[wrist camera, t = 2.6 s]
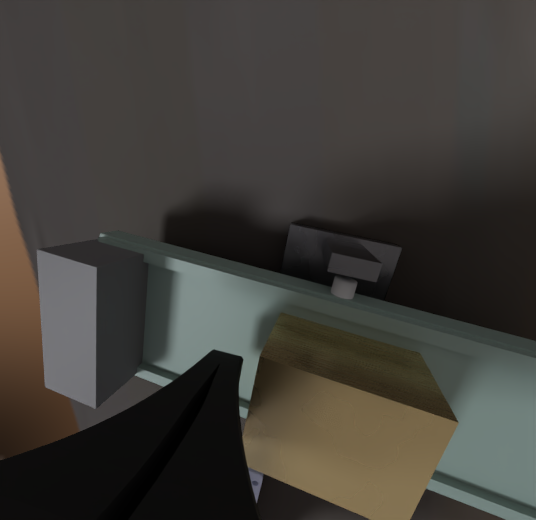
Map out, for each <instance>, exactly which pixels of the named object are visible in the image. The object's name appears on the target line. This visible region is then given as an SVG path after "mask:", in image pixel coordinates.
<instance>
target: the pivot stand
mask: <svg viewBox="0 0 536 520" xmlns="http://www.w3.org/2000/svg"><path fill="white" fill-rule="evenodd" d="M401 250H402V247H400V246H398V245H396V244H392V243H387V242H382V241H378V240H373V239H368V238H363V237H358V236H354V235H349V234H344V233H339V232H335V231H330V230H325V229H320V228H315V227H311V226H306V225H301V224H296V223H292V222H291V224H290V229H289V234H288V238H287V243H286V248H285V252H284V257H283V262H282V266H281V271H280V274H284V275H288V276H292V277H295V278H299V279H303V280H307V281H311V282H314V283H318V284H322V285H326V286H330V287H332V285H333V281H334V277H335V276H337V275H340V276H346V277H349V278H352V279H354V280H356V281H357V282H358V283H357V287H356V290H355V293H356V294H360V295H364V296H367V297H371V298H375V299H379V300H382V301H384V299H385V296H386V294H387V291H388V288H389V285H390V282H391V279H392V276H393V273H394V270H395V267H396V264H397V262H398V259H399V256H400V253H401Z"/></svg>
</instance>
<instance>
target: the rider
mask: <svg viewBox="0 0 536 520" xmlns="http://www.w3.org/2000/svg"><path fill="white" fill-rule="evenodd" d="M458 424H459V422H458V420H457V418H456V417H455V415H454V413H453V411H452V409H451V408H450V406H449V404H448V402H447V400H446V399H445V397H444V395H443V393H442V391H441V390H440V388H439V386H438V384H437V382H436V381H435V379H434V377H433V375H432V373H431V372H430V370H429V368H428V366H427V364H426V363H425V361H424V359H423V357H422V355H421V354H420V353H418V352H414V351H411V350H408V349H404V348H401V347H397V346H394V345H391V344H387V343H384V342H380V341H377V340H374V339H370V338H367V337H363V336H360V335H357V334H353V333H350V332H347V331H343V330H340V329H336V328H333V327H330V326H326V325H323V324H319V323H316V322H313V321H309V320H306V319H302V318H299V317H296V316H292V315H289V314H285V313H282V312H281V313H280V315H279V317H278V319H277V321H276V323H275V325H274V328H273V330H272V332H271V334H270V336H269V338H268V340H267V342H266V344H265V346H264V348H263V350H262V352H261V354H260V357H259V362H258V366H257V371H256V376H255V380H254V385H253V390H252V395H251V399H250V404H249V409H248V414H247V418H246V423H245V428H244V432H243V437H242V438H243V445H244V451H245V456H246V461H247V466H248V467H249V468H251V469H254V470H256V471H258V472H261V473H263V474H265V475H268V476H270V477H272V478H275V479H277V480H279V481H282V482H284V483H287V484H289V485H291V486H294V487H296V488H298V489H301V490H303V491H305V492H308V493H310V494H312V495H315V496H317V497H319V498H322V499H324V500H326V501H329V502H331V503H333V504H336V505H338V506H340V507H343V508H345V509H347V510H350V511H352V512H354V513H357V514H359V515H361V516H364V517H366V518H368V519H371V520H410V519H411V517H412V515H413V513H414V511H415V509H416V507H417V505H418V503H419V501H420V499H421V497H422V495H423V493H424V491H425V489H426V487H427V485H428V483H429V481H430V479H431V477H432V475H433V473H434V471H435V469H436V467H437V465H438V463H439V461H440V459H441V457H442V455H443V453H444V451H445V449H446V447H447V445H448V443H449V441H450V439H451V437H452V435H453V434H454V432H455V430H456V428H457V426H458Z"/></svg>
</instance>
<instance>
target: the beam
mask: <svg viewBox="0 0 536 520" xmlns="http://www.w3.org/2000/svg"><path fill="white" fill-rule="evenodd" d="M37 262H38V278H39V295H40V310H41V327H42V344H43V360H44V376H45V387H46V388H49V389H51V390H53V391H56V392H58V393H60V394H63V395H65V396H67V397H69V398H72V399H74V400H76V401H79V402H81V403H83V404H86V405H88V406H90V407H93V408H95V409H96V408H97V407H99V406H100V405H101V404H102V403H103V402H104V401H105V400H107V399H108V398H109V397H110V396H111V395H112V394H113V393H115V392H116V391H117V390H118V389H119V388H120V387H121V386H123V385H124V384H125V383H126V382H127V381H128V380H129V379H131V378H132V377H133V376H134V375H135V376H138V377H140V378H143V379H146V380H148V381H151V382H153V383H156V384H158V385H161V386H166V385H167V384H169V383H170V382H172V381H173V380H175V379H176V378H178V377H179V376H180V375H182V374H183V373H184V372H186V371H187V370H188V369H189V368H191V367H192V366H193V365H195V364H196V363H197V362H198V361H199V360H201V359H202V358H203V357H204V356H205V355H207V354H208V353H209V352H210V351H212V350H213V349H215V350H219V351H223V352H226V353H230V354H234V355H238V356H242V358H243V359H244V360H243V365H242V370H241V376H240V381H239V410H240V416H241V417H243V418H247V414H248V409H249V404H250V399H251V395H252V390H253V385H254V380H255V376H256V371H257V366H258V362H259V357H260V354H261V352H262V350H263V348H264V346H265V344H266V342H267V340H268V338H269V336H270V334H271V332H272V330H273V328H274V325H275V323H276V321H277V319H278V317H279V315H280V313H281V312H282V313H285V314H289V315H292V316H296V317H299V318H302V319H306V320H309V321H313V322H316V323H319V324H323V325H326V326H330V327H333V328H336V329H340V330H343V331H347V332H350V333H353V334H357V335H360V336H363V337H367V338H370V339H374V340H377V341H380V342H384V343H387V344H391V345H394V346H397V347H401V348H404V349H408V350H411V351H414V352H418V353H420V354H421V355H422V357H423V359H424V361H425V363H426V364H427V366H428V368H429V370H430V372H431V373H432V375H433V377H434V379H435V381H436V382H437V384H438V386H439V388H440V390H441V391H442V393H443V395H444V397H445V399H446V400H447V402H448V404H449V406H450V408H451V409H452V411H453V413H454V415H455V417H456V418H457V420H458V422H459V424H458V426H457V428H456V430H455V432H454V434H453V435H452V437H451V439H450V441H449V443H448V445H447V447H446V449H445V451H444V453H443V455H442V457H441V459H440V461H439V463H438V465H437V467H436V469H435V471H434V473H433V475H432V477H431V479H430V481H429V483H428V485H427V487H426V489H429V490H431V491H434V492H436V493H439V494H442V495H444V496H447V497H449V498H452V499H455V500H457V501H460V502H462V503H465V504H467V505H470V506H473V507H475V508H478V509H480V510H483V511H485V512H488V513H491V514H493V515H496V516H498V517H501V518H503V519H506V520H536V341H534V340H530V339H526V338H522V337H519V336H515V335H511V334H507V333H504V332H500V331H496V330H492V329H488V328H485V327H481V326H477V325H473V324H469V323H466V322H462V321H458V320H454V319H451V318H447V317H443V316H439V315H435V314H432V313H428V312H424V311H420V310H417V309H413V308H409V307H405V306H401V305H398V304H394V303H390V302H386V301H382V300H379V299H375V298H371V297H367V296H364V295H360V294H356V293H355V290H356V287H357V283H358V282H357V281H356V280H354V279H352V278H349V277H346V276H340V275H337V276H335V277H334V281H333V285H332V287H330V286H326V285H322V284H318V283H314V282H311V281H307V280H303V279H299V278H295V277H292V276H288V275H284V274H280V273H277V272H273V271H269V270H265V269H261V268H258V267H254V266H250V265H246V264H242V263H239V262H235V261H231V260H227V259H224V258H220V257H216V256H212V255H208V254H205V253H201V252H197V251H193V250H190V249H186V248H182V247H178V246H174V245H171V244H167V243H163V242H159V241H155V240H152V239H148V238H144V237H140V236H137V235H133V234H129V233H125V232H121V231H113V232H106V233H100V237H98V239H96V240H90V241H84V242H78V243H72V244H66V245H60V246H54V247H48V248H42V249H37Z"/></svg>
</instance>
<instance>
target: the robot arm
mask: <svg viewBox="0 0 536 520" xmlns="http://www.w3.org/2000/svg"><path fill="white" fill-rule="evenodd" d="M243 360H244V359H243V358H242V356H238V355H234V354H230V353H226V352H223V351H219V350H215V349H213V350H212V351H210V352H209V353H208V354H207V355H205V356H204V357H203V358H202V359H201V360H199V361H198V362H197V363H196V364H195V365H193V366H192V367H191V368H189V369H188V370H187V371H186V372H184V373H183V374H182V375H180V376H179V377H178V378H176V379H175V380H173V381H172V382H170V383H169V384H167V385H166V386H164V387H163V388H162V389H160V390H159V391H157V392H156V393H154V394H152V395H151V396H149V397H148V398H146V399H144V400H143V401H141V402H139V403H137V404H136V405H134V406H132V407H130V408H128V409H126V410H125V411H123V412H121V413H119V414H117V415H115V416H113V417H111V418H109V419H107V420H105V421H103V422H101V423H98V424H96V425H94V426H92V427H90V428H87V429H85V430H83V431H80V432H78V433H76V434H74V435H71V436H68V437H66V438H64V439H61V440H58V441H55V442H53V443H50V444H48V445H45V446H42V447H39V448H36V449H33V450H30V451H27V452H24V453H22V454H19V455H16V456H13V457H10V458H7V459H4V460H0V520H261V517H260V514H259V510H258V507H257V500H258V496H259V492H260V488H261V484H262V480H263V473H261V472H258V471H256V470H254V469H251V468H249V467H248V466H247V461H246V456H245V451H244V445H243V438H242V431H241V422H240V410H239V381H240V376H241V370H242V365H243Z"/></svg>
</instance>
